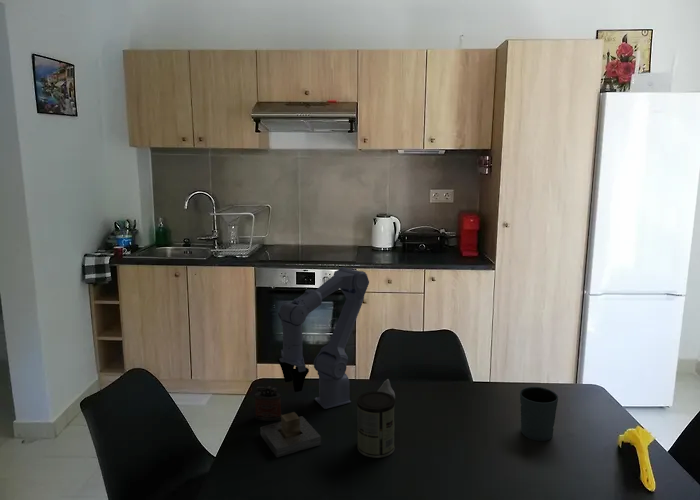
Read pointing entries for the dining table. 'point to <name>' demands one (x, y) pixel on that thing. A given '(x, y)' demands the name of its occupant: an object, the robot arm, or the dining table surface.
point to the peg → (290, 425)
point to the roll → (386, 388)
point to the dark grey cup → (538, 412)
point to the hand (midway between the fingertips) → (293, 386)
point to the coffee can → (376, 424)
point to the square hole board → (290, 438)
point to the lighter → (267, 404)
